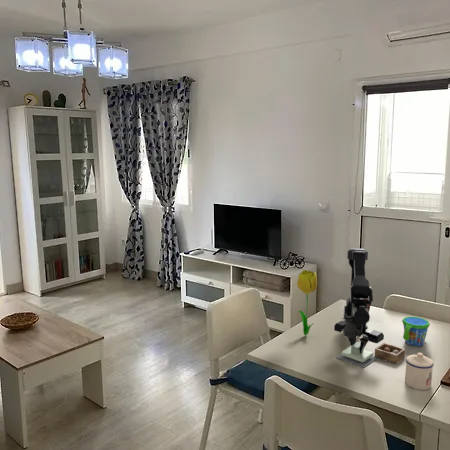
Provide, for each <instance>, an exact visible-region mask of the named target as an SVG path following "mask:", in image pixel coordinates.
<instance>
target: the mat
mask: <svg viewBox="0 0 450 450" xmlns="http://www.w3.org/2000/svg"><path fill="white" fill-rule="evenodd" d="M336 359H339V360H341V361H342V362H343V361H344V362H346V363H350V364H352V365H354V366H355V365H356V366H357V367H361V368H363V369H365V368H367V367H368V366H369V365H370V364H372V363H374V362H375V361H376V360H378V359H379V358H378V357H375V355H373V356H371V357H370V358H368V359H367V360H366V361H364V362H360V361H357V360H355V359H352V358H349V357H346V356H343V355H341V354H340V355H338V356H336Z"/></svg>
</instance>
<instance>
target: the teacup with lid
mask: <svg viewBox="0 0 450 450" xmlns="http://www.w3.org/2000/svg"><path fill="white" fill-rule="evenodd" d="M405 362H406V364H405V378H404V380H405V381H404V382H405V384H406V385H407V386H408V387H410V388H413V389H414V390H420V391H426V390H428V389H430V388H431V387H432V379H433V368H434V362H433V360H432V359H431V358H430V357H428V356H425V355H424V354H423V352H417V354H410V355H408V356H407V357H405Z"/></svg>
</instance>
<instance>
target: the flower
mask: <svg viewBox="0 0 450 450" xmlns="http://www.w3.org/2000/svg"><path fill="white" fill-rule="evenodd" d="M296 285H297V288H298V289H299V290H300V291H301V292H302V293H303V294H306V311H308V309H309V308H308V305H309V304H308V300H309V294H310V293H313V292H315V291H316V290H317V287H318V277H317V272H316V271H311V270H306V269H304V270H302V271H301V272H300V273H299V274H298V277H297V282H296ZM298 313H300V316H301V320H302V321H301V322H302V327H303V329H302V332H303V335H304V336H307V335H309V333H310V329H311V326H312V325H314V324H315V323H314V322H313V323H311V324H310V325H309V324H308V317H307V314H305V313H304V311H302V310H298Z"/></svg>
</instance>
